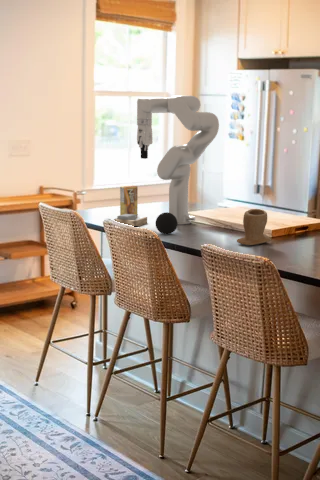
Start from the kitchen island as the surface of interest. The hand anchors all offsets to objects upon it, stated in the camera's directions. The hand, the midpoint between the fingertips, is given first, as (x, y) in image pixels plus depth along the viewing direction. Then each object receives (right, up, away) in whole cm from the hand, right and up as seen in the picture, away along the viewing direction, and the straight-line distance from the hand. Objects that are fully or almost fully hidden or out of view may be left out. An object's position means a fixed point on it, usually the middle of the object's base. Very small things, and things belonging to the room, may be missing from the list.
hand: (144, 158), depth 371 cm
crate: (-8, -35, -16) cm, 39 cm away
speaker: (+11, -40, -42) cm, 59 cm away
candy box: (-8, -29, +12) cm, 33 cm away
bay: (-6, -34, -16) cm, 38 cm away
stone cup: (+49, -44, -65) cm, 92 cm away
